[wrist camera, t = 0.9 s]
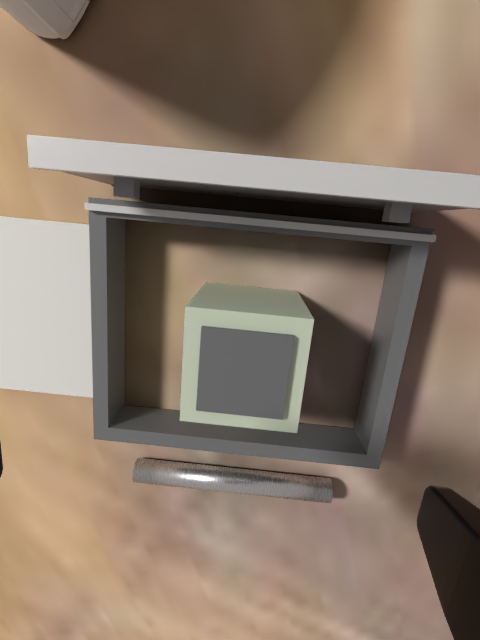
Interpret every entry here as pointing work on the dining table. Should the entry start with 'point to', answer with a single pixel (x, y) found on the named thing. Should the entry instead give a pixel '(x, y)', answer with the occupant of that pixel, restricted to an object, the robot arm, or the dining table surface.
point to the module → (245, 357)
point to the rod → (233, 480)
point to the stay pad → (45, 307)
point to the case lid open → (256, 176)
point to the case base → (304, 445)
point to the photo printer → (47, 15)
